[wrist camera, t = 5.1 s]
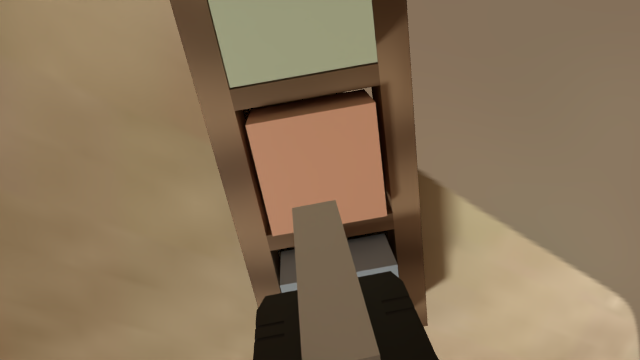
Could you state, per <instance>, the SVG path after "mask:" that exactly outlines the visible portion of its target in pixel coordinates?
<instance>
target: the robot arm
mask: <svg viewBox="0 0 640 360" xmlns="http://www.w3.org/2000/svg"><path fill="white" fill-rule="evenodd" d="M292 215H293V230H294V246H295V261H296V276H297V290H295V291H289V292H284V293H279V294H274V295H268V296H265V297H264V299H263V301H262V302H261V304H260V306H259V308H258V309H257V314H256V329H255V342H254V356H253V360H439V359H438V357H437V356H436V354H435V352H434V350H433V347H432V345H431V343H430V341H429V338H428V336H427V334H426V332H425V329H424V327H423V325H422V323H421V320H420V318H419V316H418V314H417V311H416V310H415V307H414V305H413V302H412V300H411V298H410V296H409V293H408V291H407V289H406V287H405V284H404V282H403V281H402V280H401V279H400V278H398V277H397V276H396V275H395V274H394V273H392V272H391V271H387V272H382V273H377V274H372V275H367V276H361V277H357V273H356V270H355V266H354V263H353V259H352V256H351V252H350V249H349V245H348V242H347V238H346V235H345V231H344V228H343V224H342V221H341V217H340V214H339V210H338V207H337V203H336V200H332V201H327V202H321V203H316V204H311V205H305V206H300V207H295V208H292Z"/></svg>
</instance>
